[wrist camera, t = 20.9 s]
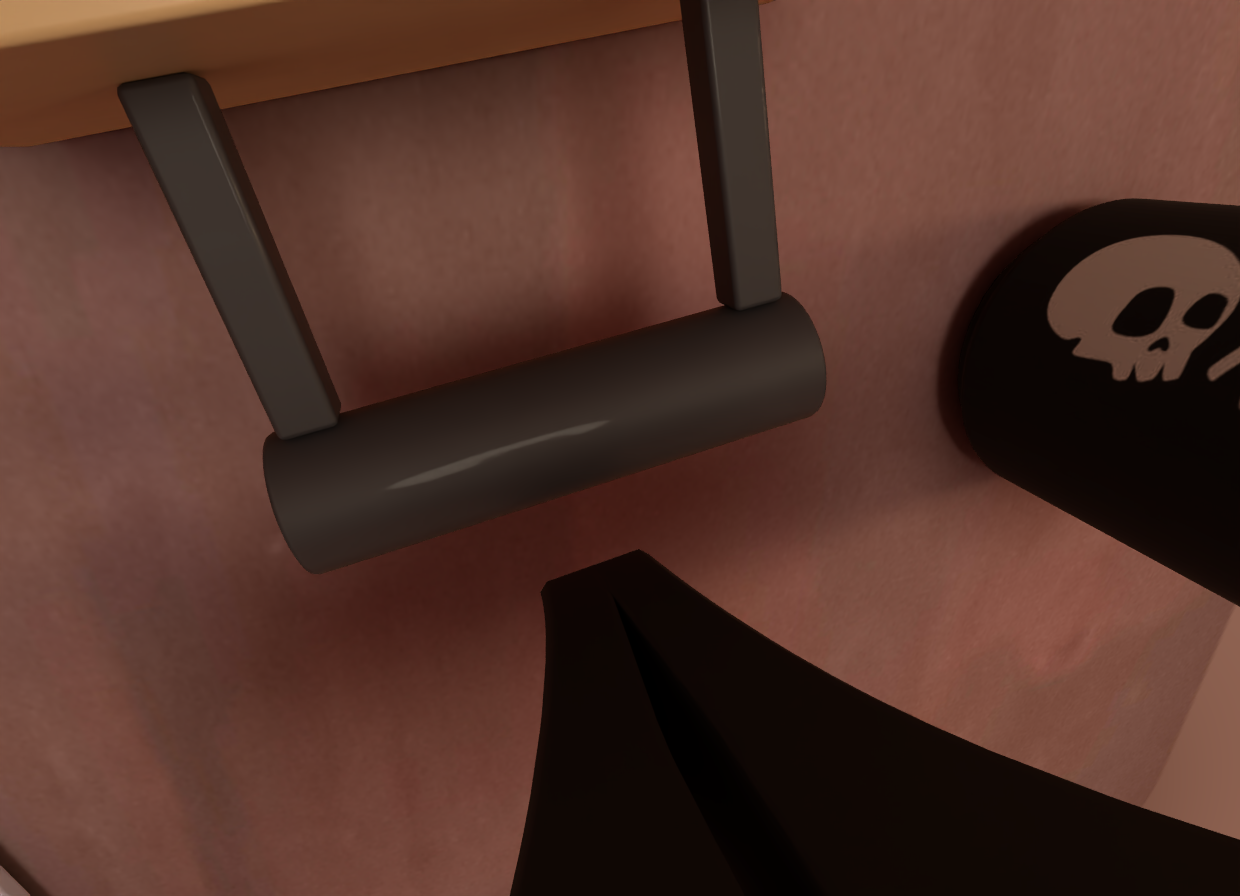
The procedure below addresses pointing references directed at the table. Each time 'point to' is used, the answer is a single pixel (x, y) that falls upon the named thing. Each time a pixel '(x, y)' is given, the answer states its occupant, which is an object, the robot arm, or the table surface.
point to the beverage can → (1121, 379)
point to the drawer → (471, 407)
